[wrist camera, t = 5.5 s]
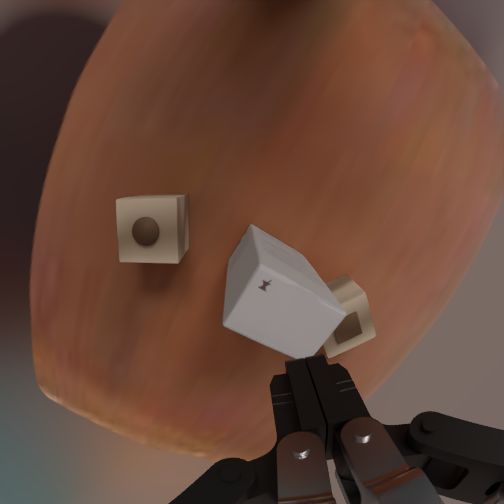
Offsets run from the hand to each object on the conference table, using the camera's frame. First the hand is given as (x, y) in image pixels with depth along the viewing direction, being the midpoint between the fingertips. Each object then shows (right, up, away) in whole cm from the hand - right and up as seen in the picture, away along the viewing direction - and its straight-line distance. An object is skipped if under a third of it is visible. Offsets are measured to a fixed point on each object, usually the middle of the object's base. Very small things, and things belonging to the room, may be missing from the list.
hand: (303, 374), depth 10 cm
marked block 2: (+6, -1, +18) cm, 19 cm away
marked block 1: (-10, +8, +15) cm, 20 cm away
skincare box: (-1, +4, +16) cm, 17 cm away
